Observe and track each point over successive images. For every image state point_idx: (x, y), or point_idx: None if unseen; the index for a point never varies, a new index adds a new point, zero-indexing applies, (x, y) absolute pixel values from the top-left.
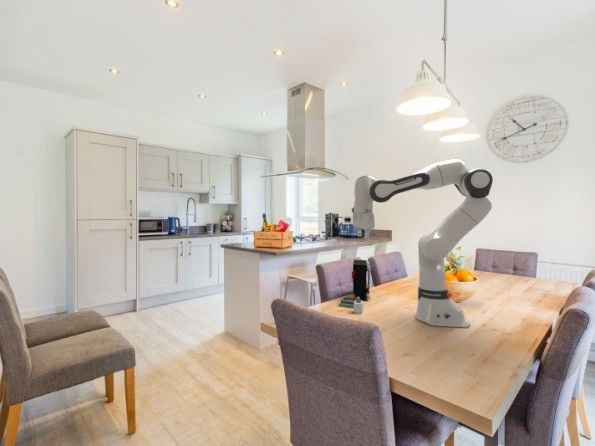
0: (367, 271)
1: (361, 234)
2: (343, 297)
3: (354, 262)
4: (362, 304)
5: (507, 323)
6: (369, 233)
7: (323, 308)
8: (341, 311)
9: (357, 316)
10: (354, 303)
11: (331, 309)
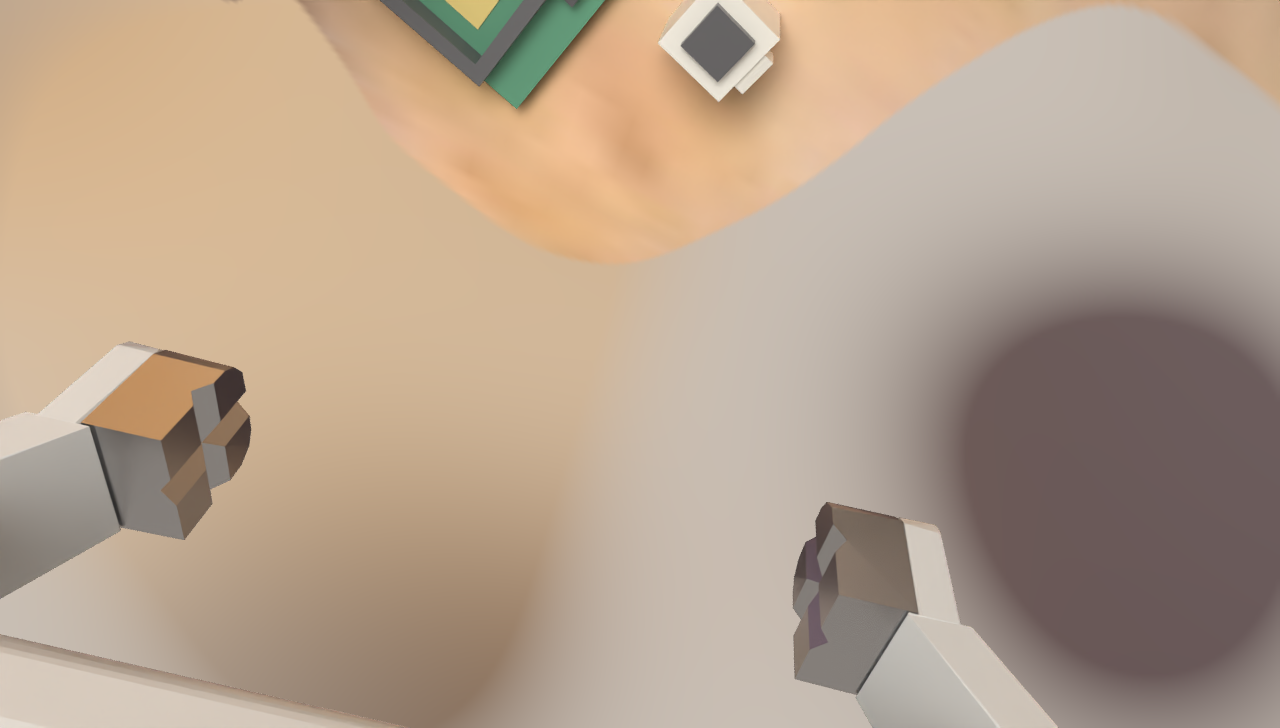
0: None
1: (198, 415)
2: (387, 3)
3: None
4: (760, 14)
5: None
6: (1008, 671)
7: (540, 245)
8: (656, 153)
9: (824, 95)
10: (724, 94)
11: (582, 202)
